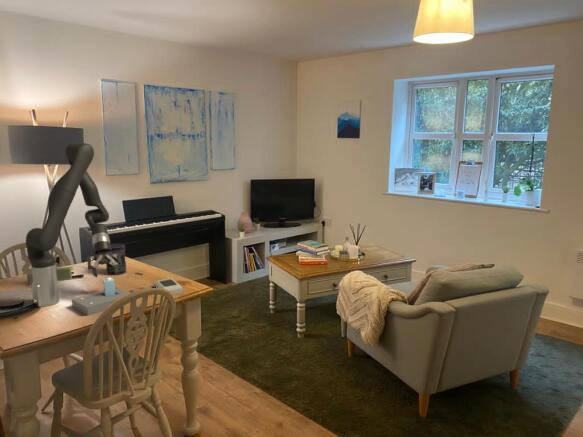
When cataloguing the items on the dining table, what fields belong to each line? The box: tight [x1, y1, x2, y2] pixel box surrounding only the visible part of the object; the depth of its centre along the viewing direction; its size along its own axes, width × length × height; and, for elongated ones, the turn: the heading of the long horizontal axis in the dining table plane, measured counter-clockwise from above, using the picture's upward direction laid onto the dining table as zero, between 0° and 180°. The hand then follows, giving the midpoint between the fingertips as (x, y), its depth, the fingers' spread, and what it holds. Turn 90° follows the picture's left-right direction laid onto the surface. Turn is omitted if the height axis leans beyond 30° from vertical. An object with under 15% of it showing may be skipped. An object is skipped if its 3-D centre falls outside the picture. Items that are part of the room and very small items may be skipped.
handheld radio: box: [26, 266, 85, 286], centre depth 225 cm, size 7×3×25 cm
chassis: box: [71, 286, 129, 316], centre depth 195 cm, size 20×14×4 cm
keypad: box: [152, 277, 184, 295], centre depth 215 cm, size 10×4×15 cm
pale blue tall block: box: [102, 277, 116, 297], centre depth 198 cm, size 4×4×11 cm
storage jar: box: [105, 242, 127, 276], centre depth 238 cm, size 10×10×15 cm
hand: (106, 274), depth 201 cm, fingers open, 8 cm apart
